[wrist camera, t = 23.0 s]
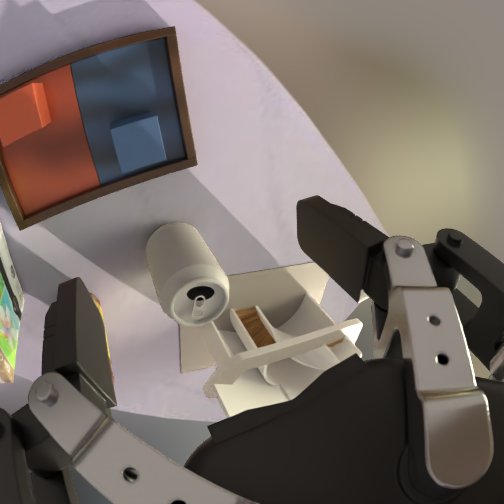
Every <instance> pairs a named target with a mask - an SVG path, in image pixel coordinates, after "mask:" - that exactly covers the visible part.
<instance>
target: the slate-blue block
mask: <svg viewBox="0 0 504 504" xmlns="http://www.w3.org/2000/svg"><path fill="white" fill-rule="evenodd" d="M110 132H111V136H112V140H113V144H114V148H115V151H116V155H117V159H118V162H119V166H120V169H121V173H122V174H123V173H126V172H129V171H132V170H135V169H138V168H141V167H144V166H147V165H150V164H153V163H156V162H160V161H163V160H166V155H165V150H164V146H163V141H162V137H161V132H160V127H159V122H158V118H157V115H155V114H154V113H152V112H151V111H150V112H147V113H143V114H140V115H137V116H133V117H130V118H127V119H124V120H120V121H117V122H114V123H111V124H110Z"/></svg>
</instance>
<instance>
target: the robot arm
mask: <svg viewBox="0 0 504 504" xmlns="http://www.w3.org/2000/svg"><path fill="white" fill-rule="evenodd" d="M297 238H298V242H299V245H300V247H301V249H302V250H303V252H304V253H305V254H307V255H308V256H309V257H310V258H311V259H312V260H313V261H314V262H315V263H316V264H317V265H318V266H319V267H320V268H322V269H323V270H324V271H325V272H326V273H327V274H328V275H329V276H330V277H331V278H332V279H333V280H334V281H335V282H336V283H337V284H338V285H340V286H341V287H342V288H343V289H344V290H345V291H346V292H347V293H348V294H349V295H350V296H351V297H352V298H353V299H354V300H355V301H356V302H357V303H360V302H362V301H363V300H365V299H367V298H369V297H370V298H371V299H372V300H373V301H372V305H371V311H372V322H373V336H374V355H373V359H371V360H366V361H363V360H362V359H361V358H360V357H359V356H358V355H357V353H355V354H353V355H352V356H350V357H348V358H347V359H345V360H343V361H341V362H340V363H338V364H336V365H335V366H333V367H331V368H329V369H328V370H326V371H324V372H323V373H322V374H321V375H320V376H319V377H318V378H317V379H315V380H314V381H313V382H312V383H311V384H310V385H309V386H308V387H307V388H306V389H305V390H303V391H302V392H301V393H300V394H299V395H298V396H297V397H295V398H294V399H292V400H289V401H286V402H281V403H277V404H273V405H268V406H263V407H259V408H254V409H249V410H245V411H243V412H241V413H239V414H236V415H234V416H231V417H229V418H227V419H224V420H222V421H219V422H217V423H214V424H212V425H209V426H207V427H208V429H209V431H210V434H211V437H209V438H208V439H207V440H205V441H204V442H203V443H202V444H201V445H200V446H198V447H197V448H196V450H195V451H194V452H193V453H192V454H191V456H190V457H189V459H188V460H187V462H186V463H185V466H184V467H183V466H181V465H179V464H178V463H176V462H175V461H173V460H171V459H170V458H168V457H166V456H165V455H163V454H162V453H160V452H159V451H157V450H156V449H154V448H153V447H151V446H150V445H148V444H147V443H145V442H144V441H142V440H141V439H139V438H138V437H137V436H135V435H134V434H132V433H131V432H130V431H128V430H127V429H125V428H124V427H123V426H122V425H120V424H119V423H118V422H116V421H115V420H114V419H112V418H111V417H110V416H108V413H107V409H108V408H111V407H114V406H117V402H116V397H115V392H114V387H113V381H112V376H111V370H110V364H109V357H108V350H107V343H106V335H105V326H104V322H103V319H102V316H101V314H100V312H99V310H98V308H97V306H96V304H95V303H94V301H93V299H92V297H91V296H90V294H89V292H88V290H87V288H86V287H85V285H84V283H83V281H82V280H81V278H79V277H77V278H74V279H72V280H69V281H66V282H64V283H61V284H59V288H58V297H57V302H54V303H52V304H51V306H50V308H49V310H48V312H47V314H46V316H45V325H44V328H45V330H44V336H43V338H44V340H43V351H42V375H41V376H40V377H39V378H37V379H36V380H35V382H34V383H33V384H32V386H31V388H30V391H29V395H28V404H26V405H25V406H24V407H22V408H21V409H20V410H18V411H17V412H15V413H13V414H12V415H10V414H9V413H7V412H6V411H5V410H3V409H1V408H0V504H36V503H37V504H80V503H79V500H78V497H77V494H76V490H75V487H74V483H73V479H72V475H71V471H70V467H69V465H70V464H72V465H73V467H74V468H75V469H76V470H77V471H78V472H79V473H80V474H81V475H82V476H83V477H84V478H85V479H86V480H87V481H88V482H89V483H90V484H92V486H94V487H95V488H96V489H97V490H98V491H99V492H100V493H101V494H103V495H104V496H105V497H106V498H107V499H108V500H110V501H111V502H112V503H113V504H504V264H503V263H502V262H501V261H500V260H498V259H497V258H496V257H494V256H493V255H492V254H490V253H489V252H488V251H487V250H485V249H484V248H483V247H481V246H480V245H478V244H477V243H476V242H474V241H473V240H472V239H470V238H469V237H467V236H466V235H465V234H463V233H462V232H460V231H457V230H454V229H441V230H439V231H438V233H437V236H436V240H435V243H431V244H425V245H421V244H420V243H419V242H418V241H416V240H414V239H412V238H410V237H406V236H393V237H390V238H389V237H388V236H386V235H385V234H383V233H382V232H380V231H379V230H378V229H376V228H375V227H373V226H372V225H370V224H369V223H367V222H366V221H363V220H362V219H361V218H360V217H358V216H355V214H354V213H352V212H350V211H349V210H347V209H346V208H344V207H341V206H337V205H334V204H331V203H329V202H328V201H326V200H325V199H323V198H321V197H320V196H317V195H316V196H312V197H309V198H306V199H303V200H300V201H298V203H297ZM461 275H462V276H463V277H464V278H466V279H467V280H468V281H469V282H470V283H472V284H473V285H474V286H475V287H476V288H477V289H478V290H479V291H480V292H481V295H482V303H481V305H480V307H479V308H478V307H477V306H476V305H475V304H474V303H472V302H471V301H470V300H469V299H468V298H467V297H466V296H465V295H464V294H462V293H461V292H460V291H459V290H458V289H457V288H456V286H457V284H458V282H459V279H460V277H461ZM468 348H469V349H470V350H471V351H472V352H473V354H474V355H475V356H476V357H477V358H478V359H479V360H480V361H481V362H482V363H483V364H484V365H485V366H486V368H487V369H488V370H489V371H490V372H491V375H490V376H489V378H488V379H485V378H480V377H475V375H474V371H473V366H472V362H471V358H470V354H469V350H468ZM28 472H30V474H31V479H32V484H33V489H34V494H35V498H36V502H35V500H34V498H33V495H32V491H31V486H30V481H29V476H28Z"/></svg>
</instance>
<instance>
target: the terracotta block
mask: <svg viewBox="0 0 504 504" xmlns="http://www.w3.org/2000/svg"><path fill="white" fill-rule="evenodd" d="M50 122H51V117H50V113H49V109H48V105H47V101H46V96H45V92H44V87H43V83H30V84H28V85H26V86H24V87H22V88H20V89H18V90H16V91H14V92H12V93H10V94H8V95H6V96H5V97H3V98H1V99H0V139H1V142H2V145H3V147H4V146H6V145H8V144H10V143H12V142H14V141H16V140H18V139H20V138H22V137H24V136H26V135H28V134H30V133H32V132H34V131H37V130H39V129H41V128H43V127H44V126H46V125H47V124H49V123H50Z"/></svg>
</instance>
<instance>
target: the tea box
mask: <svg viewBox="0 0 504 504" xmlns="http://www.w3.org/2000/svg"><path fill="white" fill-rule="evenodd" d="M24 300H25V297H24V294H23V292H22V289H21V286H20V283H19V280H18V278H17V275H16V272H15V269H14V266H13V263H12V260H11V257H10V254H9V251H8V247H7V243H6V240H5V236H4V233H3V230H2V226H1V222H0V383H6V382H12V383H13V377H14V368H15V356H16V348H17V341H18V333H19V328H20V321H21V315H22V311H23V306H24Z"/></svg>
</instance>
